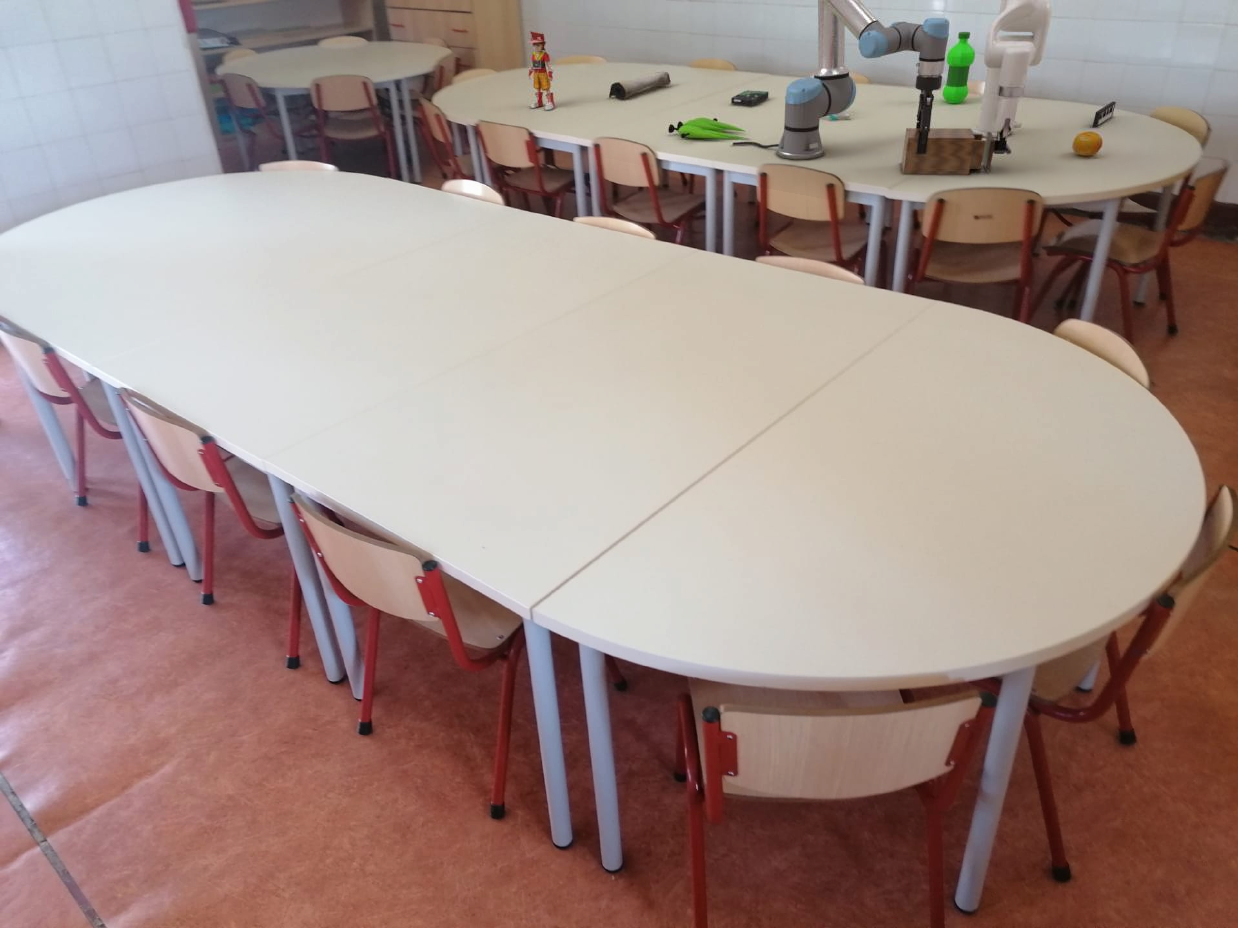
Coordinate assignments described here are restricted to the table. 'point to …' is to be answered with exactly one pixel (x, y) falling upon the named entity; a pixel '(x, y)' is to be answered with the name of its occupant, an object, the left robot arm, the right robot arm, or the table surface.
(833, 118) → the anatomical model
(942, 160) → the cabinet
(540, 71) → the toy
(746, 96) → the disk drive
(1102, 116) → the midi keyboard
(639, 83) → the rolled mat
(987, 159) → the drawer
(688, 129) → the toy
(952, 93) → the plastic bottle
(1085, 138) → the fruit
